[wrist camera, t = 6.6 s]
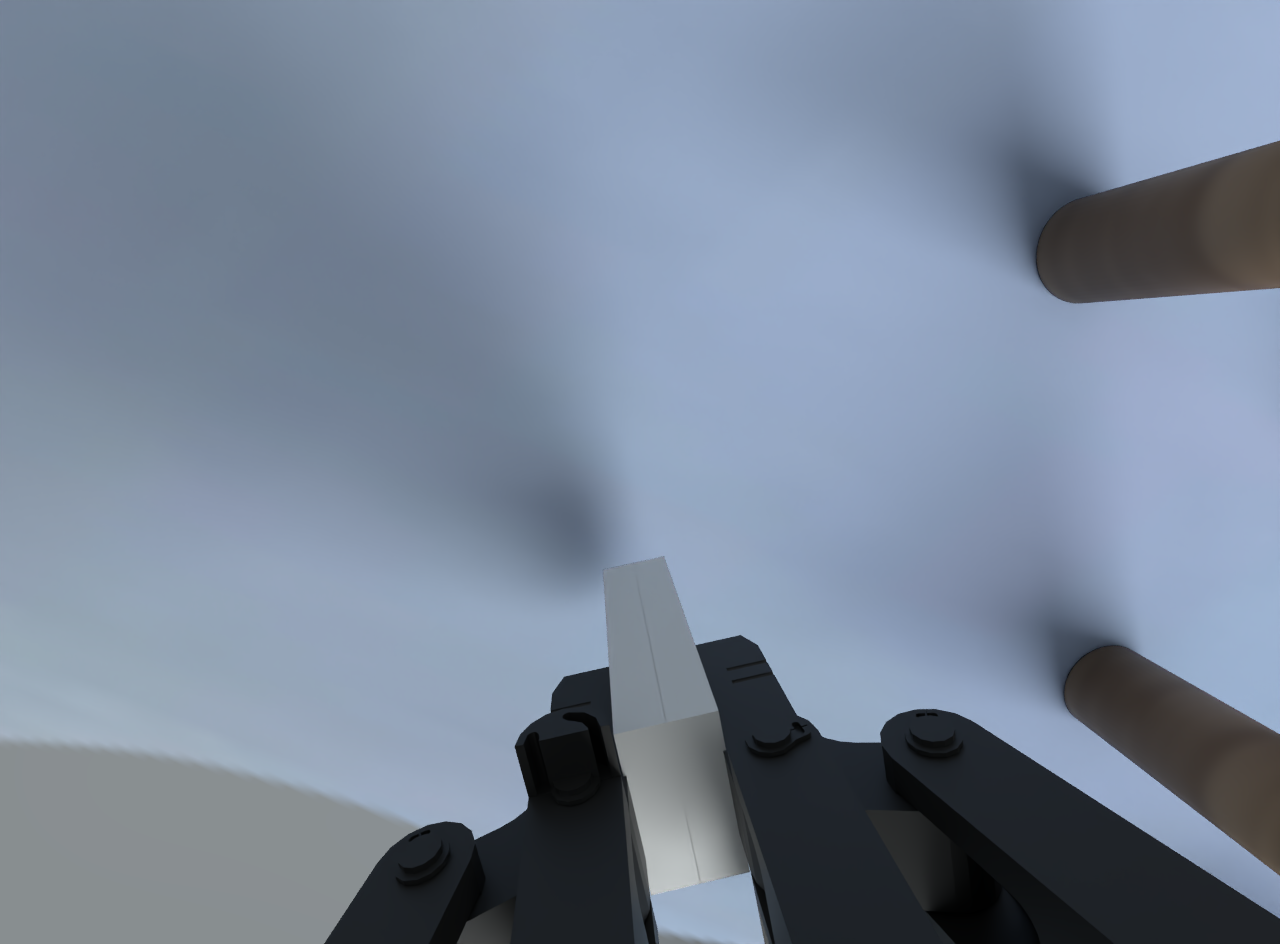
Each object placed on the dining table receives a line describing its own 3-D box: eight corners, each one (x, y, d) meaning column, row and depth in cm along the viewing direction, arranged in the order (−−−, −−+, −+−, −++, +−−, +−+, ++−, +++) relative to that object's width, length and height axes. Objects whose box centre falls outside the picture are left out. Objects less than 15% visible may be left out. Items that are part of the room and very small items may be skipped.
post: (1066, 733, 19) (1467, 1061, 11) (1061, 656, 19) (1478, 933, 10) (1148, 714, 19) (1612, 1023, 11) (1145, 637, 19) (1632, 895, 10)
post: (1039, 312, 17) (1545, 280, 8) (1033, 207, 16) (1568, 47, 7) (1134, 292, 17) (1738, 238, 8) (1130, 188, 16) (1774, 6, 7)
